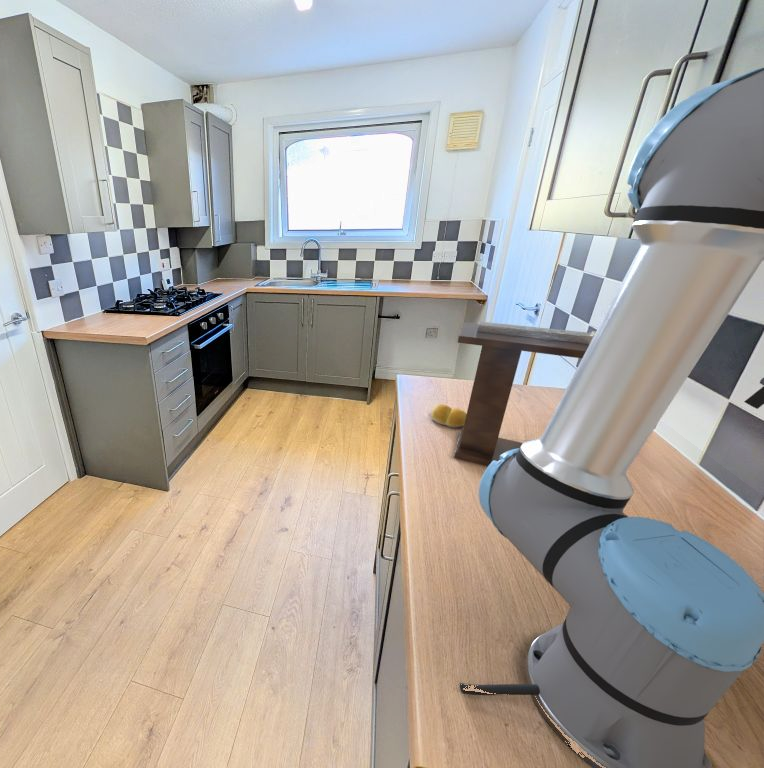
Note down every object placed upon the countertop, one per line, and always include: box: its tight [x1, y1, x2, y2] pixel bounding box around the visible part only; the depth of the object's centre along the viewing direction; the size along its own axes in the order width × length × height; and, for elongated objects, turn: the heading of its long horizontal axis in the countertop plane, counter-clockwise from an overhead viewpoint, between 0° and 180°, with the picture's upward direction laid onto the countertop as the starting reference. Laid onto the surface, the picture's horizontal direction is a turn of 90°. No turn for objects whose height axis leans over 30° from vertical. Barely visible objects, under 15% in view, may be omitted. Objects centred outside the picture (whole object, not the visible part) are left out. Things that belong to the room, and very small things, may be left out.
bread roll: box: [429, 403, 467, 429], centre depth 105 cm, size 8×9×4 cm
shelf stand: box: [453, 321, 589, 467], centre depth 86 cm, size 22×12×29 cm, turn 59°
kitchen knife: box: [477, 321, 597, 345], centre depth 76 cm, size 30×3×2 cm, turn 59°
